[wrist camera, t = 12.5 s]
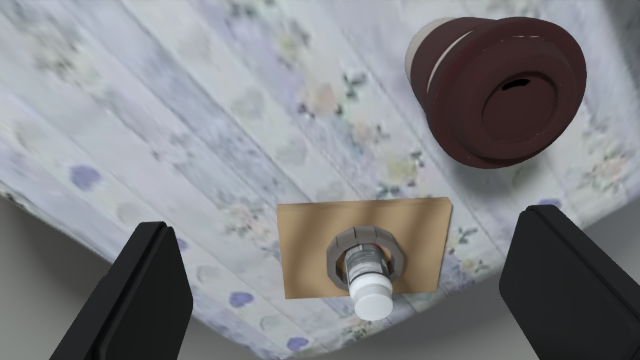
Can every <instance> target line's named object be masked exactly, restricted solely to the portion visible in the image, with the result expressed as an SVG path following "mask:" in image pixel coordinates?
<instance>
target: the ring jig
mask: <svg viewBox="0 0 640 360" xmlns="http://www.w3.org/2000/svg"><path fill="white" fill-rule="evenodd" d="M451 207H452V203H451V202H450V200H449V199H448V197H441V198H418V199H395V200H371V201H348V202H325V203H301V204H278V205H277V220H278V230H279V240H280V249H281V259H282V269H283V279H284V289H285V299H299V298H319V297H340V296H350V293H349V287H348V279H347V272H346V265H345V252H346V250H347V249H349V248H351V247H353V246H355V245H357V244H367V243H375V244H378V245H379V246H380V248H381V249H382V251H383V255H384V258H385V262H386V265H387V269H388V273H389V276H390V280H391V284H392V294H401V293H422V292H436V288H437V283H438V278H439V272H440V267H441V261H442V256H443V251H444V245H445V240H446V234H447V229H448V224H449V218H450V213H451Z"/></svg>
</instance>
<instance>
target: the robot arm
mask: <svg viewBox="0 0 640 360" xmlns="http://www.w3.org/2000/svg"><path fill="white" fill-rule="evenodd" d="M499 290H500V294H501V296H502V298H503V300H504V301H505V303H506V305H507V306H508V308H509V309H510V311H511V313H512V314H513V316H514V318H515V319H516V321H517V323H518V324H519V326H520V328H521V329H522V331H523V333H524V334H525V336H526V338H527V339H528V341H529V343H530V344H531V346H532V348H533V349H534V351H535V353H536V354H537V356H538V358H539V359H540V360H640V285H638V284H637V283H636V282H635V281H634V280H633V279H632V278H631V277H630V276H629V275H628V274H627V273H626V272H625V271H624V270H623V269H622V268H621V267H619V266H618V265H617V264H616V263H615V262H614V261H613V260H612V259H611V258H610V257H609V256H608V255H607V254H606V253H605V252H603V251H602V250H601V249H600V248H599V247H598V246H597V245H596V244H595V243H594V242H593V241H592V240H591V239H590V238H589V237H588V236H587V235H586V234H585V233H584V232H583V231H581V230H580V229H579V228H578V227H577V226H576V225H575V224H574V223H573V222H572V221H571V220H570V219H569V218H568V217H567V216H566V215H565V214H564V213H562V212H561V211H560V210H559V209H558V208H557V207H556V206H554V205H551V204H550V205H531V206H528V207H527V208H526V210H525V211H522V212H521V213H520V215H519V218H518V222H517V225H516V228H515V232H514V235H513V238H512V242H511V245H510V248H509V252H508V255H507V258H506V262H505V265H504V268H503V272H502V275H501V278H500V282H499ZM192 310H193V296H192V293H191V289H190V286H189V282H188V279H187V275H186V271H185V268H184V264H183V261H182V257H181V253H180V250H179V246H178V243H177V239H176V236H175V232H174V229H173V228H172V227H171V226H170V227H167V225H166V223H165V222H163V221H159V222H142V223H140V224H139V225H138V226H137V228H136V229H135V231H134V232H133V234H132V235H131V237H130V239H129V240H128V242H127V243H126V245H125V246H124V248H123V249H122V251H121V253H120V254H119V256H118V257H117V259H116V260H115V262H114V264H113V265H112V267H111V268H110V270H109V271H108V273H107V275H105V276H104V277H103V278H102V279H101V280H100V281H99V283H98V285H97V286H96V288H95V289H94V291H93V292H92V294H91V296H90V297H89V298H88V300H87V302H86V303H85V305H84V306H83V308H82V309H81V311H80V312H79V314H78V315H77V317H76V319H75V320H74V322H73V323H72V325H71V326H70V328H69V329H68V331H67V333H66V334H65V336H64V337H63V339H62V340H61V342H60V343H59V345H58V347H57V348H56V350H55V351H54V353H53V354H52V356H51V357H50V359H49V360H177V357H178V354H179V350H180V347H181V344H182V341H183V338H184V335H185V332H186V329H187V326H188V323H189V320H190V316H191V313H192Z"/></svg>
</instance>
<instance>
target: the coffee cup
mask: <svg viewBox="0 0 640 360" xmlns="http://www.w3.org/2000/svg"><path fill="white" fill-rule="evenodd" d="M405 71H406V75H407V78H408V80H409V82H410V83H411V86H412V89H413V92H414V94H415V96H416V98H417V100H418V101H419V103H420V105H421V106H422V108H423V110H424V111H425V113H426V115H427V121H428V125H429V128H430V130H431V132H432V134H433V136H434V138H435V139H436V141H437V142H438V143H439V145H440V146H441V147H442V148H443V150H444V151H445V152H446V153H447V154H448V155H449V156H451V157H452V158H453V159H455V160H456V161H458V162H460V163H462V164H465V165H468V166H471V167H475V168H482V169H496V168H503V167H508V166H512V165H515V164H518V163H521V162H523V161H525V160H527V159H529V158H532V157H534V156H535V155H537V154H539V153H540V152H541V151H543V150H544V149H546V148H547V147H548V146H550V145H551V144H552V143H553V142H554V141H555V140H556V139H557V138H558V137H559V136H560V135H561V134H562V133H563V132H564V131H565V129H566V128H567V127H568V125H569V124H570V123H571V122H572V120H573V118H574V117H575V115H576V113H577V111H578V109H579V106H580V104H581V102H582V99H583V96H584V92H585V88H586V79H587V71H586V63H585V58H584V55H583V52H582V50H581V48H580V46H579V44H578V43H577V42H576V40H575V39H574V38H573V37H572V36H571V35H570V34H569V33H568V32H567V31H566V30H564V29H563V28H562V27H560V26H558V25H556V24H554V23H551V22H548V21H544V20H540V19H535V18H529V17H509V18H503V19H499V20H493V19H484V18H475V17H462V18H442V19H438V20H436V21H433V22H431V23H429V24H428V25H426V26H425V27H423V28H422V29H421V30H420V31H419V32H418V33H417V34H416V35H415V37H414V38H413V39H412V41H411V43H410V45H409V47H408V50H407V53H406V57H405Z"/></svg>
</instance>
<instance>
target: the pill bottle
mask: <svg viewBox="0 0 640 360" xmlns="http://www.w3.org/2000/svg"><path fill="white" fill-rule="evenodd" d="M345 265H346V272H347V279H348V287H349V293H350V297H351V299H352V300H353V303H354V308H355V312H356V314H357V315H358V316H359V317H360V318H362V319H364V320H369V321H375V320H380V319H383V318H385V317H386V316H388V315H389V314H390V313H391V311H392V309H393V301H392V296H391V295H392V284H391V280H390V276H389V273H388V269H387V265H386V262H385V258H384V255H383V251H382V249H381V248H380V246H379V245H378V244H375V243H367V244H357V245H355V246H353V247H351V248H349V249H347V250H346V252H345Z"/></svg>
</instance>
